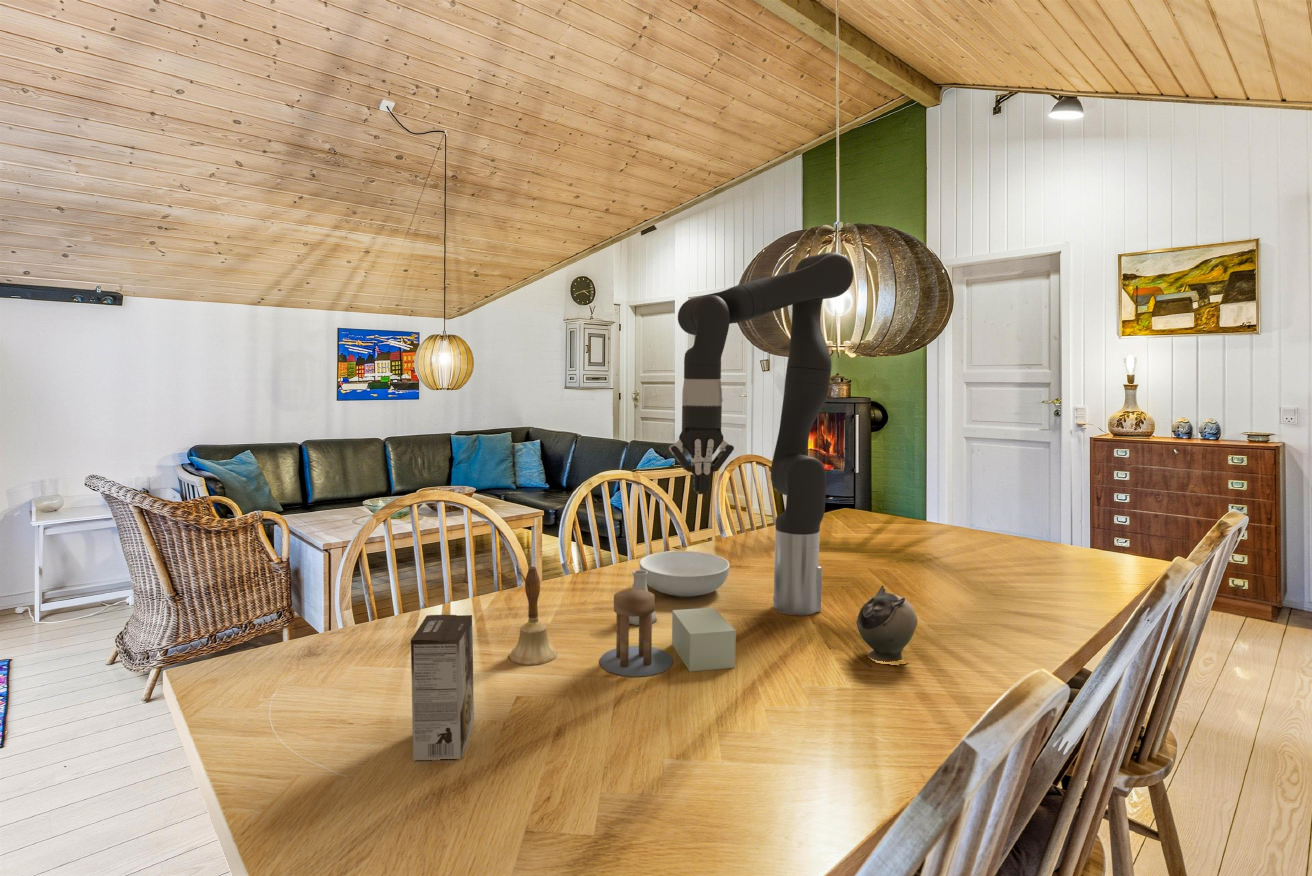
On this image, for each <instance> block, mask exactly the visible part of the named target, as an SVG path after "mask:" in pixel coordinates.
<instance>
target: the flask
mask: <svg viewBox="0 0 1312 876" xmlns="http://www.w3.org/2000/svg"><path fill="white" fill-rule="evenodd" d="M647 575H648V572H647V571H645V570H640V569H636V570H633V571H632V576H633V584H632V589H631V590H644V591H648V592H649V590H648V584H647V583H646V577H647ZM657 621H658V618H657V616H656V611H654V612H653V613H652V624H653V623H655V622H657ZM629 625H634V626H639V616H636V617H632V616H629Z"/></svg>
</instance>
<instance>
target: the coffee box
mask: <svg viewBox="0 0 1312 876" xmlns="http://www.w3.org/2000/svg"><path fill="white" fill-rule="evenodd" d="M473 637H474V636H473V615H472V614H466V615H465V614H463V615H457V614H430V615H428V614H427V615H426V616H425V617H424V619H423V620H422V621H421V623H420V625H419V627H418V629H417V630H416V631H415V633H414V634H413V636H412V637H411V639H410V658H411V659H410V664H411V665H410V668H411V669H410V670H411V671H410V673H411V702H412V703H411V711H412V715H411V716H412V717H411V719H412V720H411V721H412V722H411V723H412V725H411V726H412V761H413V762H416V761H415V760H432V761H441V760H440V759H460V758H462V759H463V758H464V754H465V751H466V748H467V746H468V743H469V740H470V737H471V734H472V731H473V728H474V726H475V725H474V724H475V712H474V711H475V709H474V708H475V706H474V703H475V701H474V652H473V651H474V646H473V645H474V643H473ZM437 759H438V760H437ZM460 760H461V759H460Z"/></svg>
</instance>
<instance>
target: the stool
mask: <svg viewBox="0 0 1312 876" xmlns="http://www.w3.org/2000/svg"><path fill="white" fill-rule="evenodd" d="M655 599H656V598H655V594H654V593H653V592H650V591H649V590H648V591H644V590H632V589H625V590H621V591H618V592H615V593H614V595H613V612H614V613H615V614H616V623H615V624H616V625H615V626H616V630H615V631H616V632H615V635H616V637H615V640H616V643H615V647H616V648H615V649H616V657H617V658H620V667H623V668H625V667H628V659H629V646H630V645H629V643H630V642H629V641H630V640H629V636H630V632H629V631H630V630H629V629H630V624H629V616H632V617H636V616H639V625H638V646H639V656H643V664H644V665H646V666H649V665H651V659H652V647H653V646H652V644H653V643H652V641H653V639H652V637H653V633H652V632H653V623H652V613H653V612H655Z"/></svg>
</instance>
